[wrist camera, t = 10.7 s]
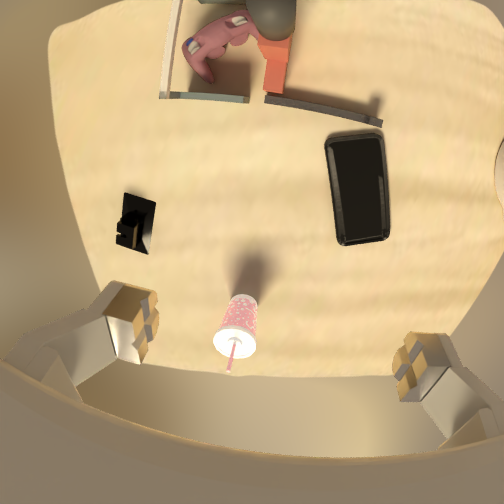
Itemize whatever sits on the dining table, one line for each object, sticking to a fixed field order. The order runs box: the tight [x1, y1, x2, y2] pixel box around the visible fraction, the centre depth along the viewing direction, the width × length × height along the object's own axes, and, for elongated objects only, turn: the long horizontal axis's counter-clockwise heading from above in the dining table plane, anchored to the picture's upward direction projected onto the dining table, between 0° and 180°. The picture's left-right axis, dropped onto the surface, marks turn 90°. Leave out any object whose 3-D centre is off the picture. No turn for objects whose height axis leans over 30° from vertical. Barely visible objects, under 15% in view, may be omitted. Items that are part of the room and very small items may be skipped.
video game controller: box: [182, 10, 259, 84], centre depth 28 cm, size 10×5×7 cm, turn 121°
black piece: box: [116, 192, 156, 254], centre depth 42 cm, size 12×7×5 cm, turn 163°
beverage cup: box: [214, 294, 258, 373], centre depth 42 cm, size 6×6×14 cm
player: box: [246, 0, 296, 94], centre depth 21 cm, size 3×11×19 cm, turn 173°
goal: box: [159, 0, 250, 103], centre depth 26 cm, size 8×15×9 cm, turn 173°
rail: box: [264, 95, 383, 128], centre depth 31 cm, size 14×1×3 cm, turn 83°
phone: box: [324, 133, 390, 246], centre depth 37 cm, size 8×1×15 cm
